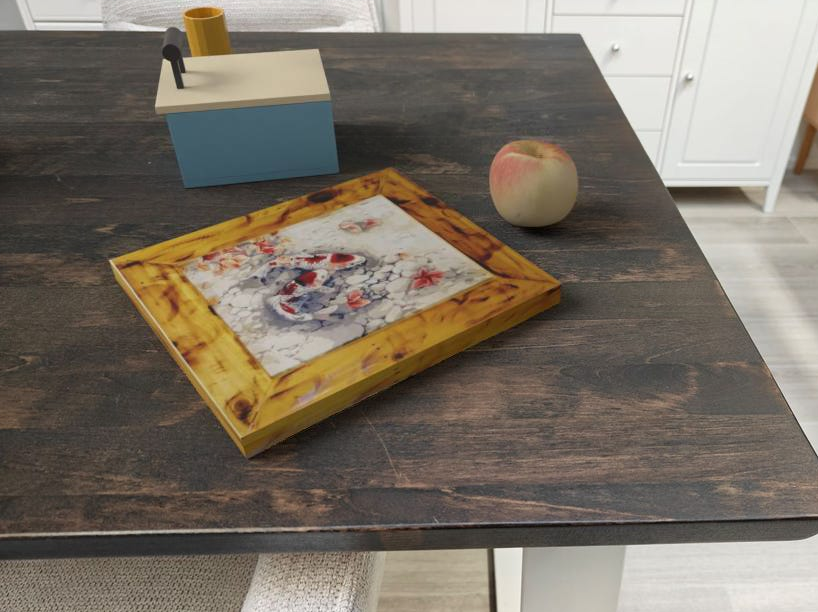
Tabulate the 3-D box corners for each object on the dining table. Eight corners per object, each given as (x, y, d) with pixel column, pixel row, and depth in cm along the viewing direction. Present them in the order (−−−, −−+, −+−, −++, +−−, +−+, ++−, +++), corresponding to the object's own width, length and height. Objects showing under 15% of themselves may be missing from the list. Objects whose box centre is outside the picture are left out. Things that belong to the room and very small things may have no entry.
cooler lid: (156, 114, 75) (141, 60, 71) (164, 66, 85) (151, 16, 81) (331, 100, 78) (324, 48, 75) (319, 55, 88) (313, 7, 84)
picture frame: (561, 283, 65) (240, 438, 51) (559, 303, 66) (246, 459, 52) (391, 167, 81) (108, 260, 66) (392, 185, 82) (116, 279, 68)
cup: (185, 66, 107) (173, 15, 102) (210, 54, 111) (199, 4, 106) (217, 73, 105) (206, 21, 101) (241, 60, 109) (232, 9, 105)
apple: (476, 207, 79) (477, 136, 73) (552, 193, 81) (558, 123, 76) (509, 250, 73) (513, 175, 67) (589, 233, 75) (599, 160, 70)
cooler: (185, 188, 80) (165, 114, 75) (189, 134, 90) (172, 66, 85) (339, 173, 84) (331, 101, 78) (327, 123, 94) (319, 56, 88)
